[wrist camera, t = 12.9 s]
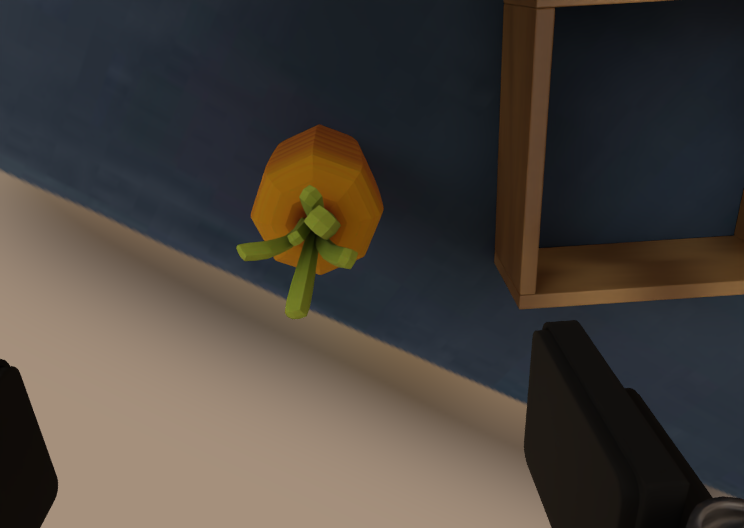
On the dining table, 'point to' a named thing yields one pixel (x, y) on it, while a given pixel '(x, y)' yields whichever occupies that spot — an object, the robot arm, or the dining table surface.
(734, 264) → the wooden frame
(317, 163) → the carrot
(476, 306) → the dining table surface
